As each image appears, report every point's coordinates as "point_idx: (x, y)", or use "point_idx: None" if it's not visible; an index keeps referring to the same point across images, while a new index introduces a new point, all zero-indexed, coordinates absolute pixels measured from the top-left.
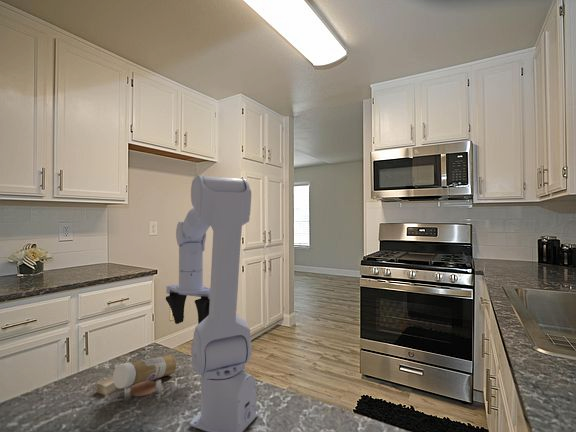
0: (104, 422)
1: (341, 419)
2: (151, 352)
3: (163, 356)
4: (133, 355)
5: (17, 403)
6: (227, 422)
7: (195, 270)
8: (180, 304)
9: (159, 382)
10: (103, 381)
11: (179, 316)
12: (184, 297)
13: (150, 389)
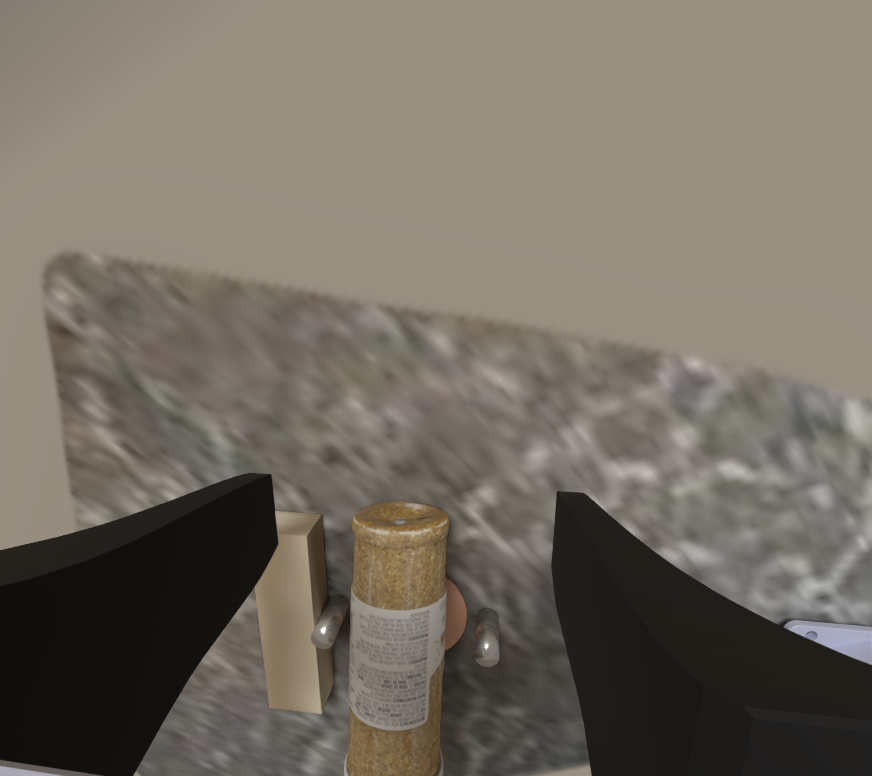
0: (464, 770)
1: None
2: (133, 347)
3: (384, 584)
4: (95, 410)
5: (148, 765)
6: None
7: None
8: (124, 637)
9: (498, 659)
10: (277, 693)
11: (238, 555)
12: (6, 637)
13: None
